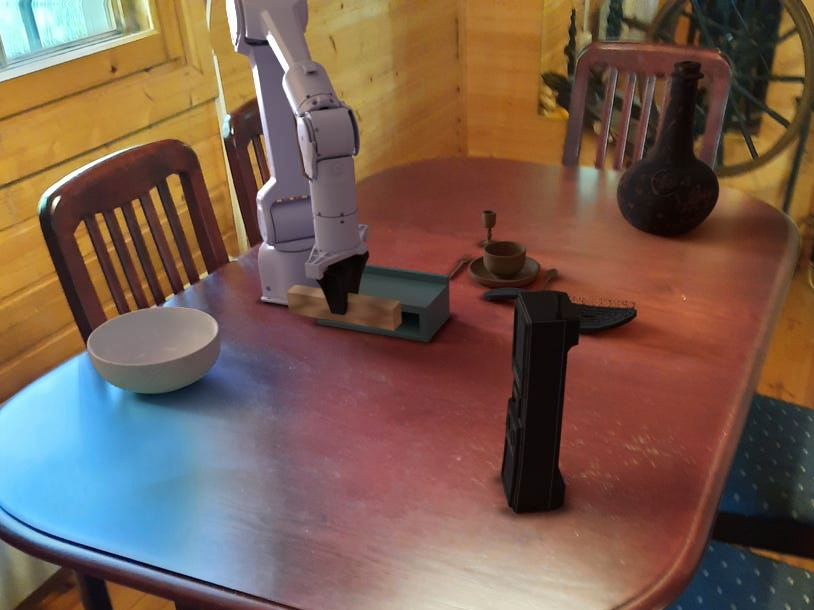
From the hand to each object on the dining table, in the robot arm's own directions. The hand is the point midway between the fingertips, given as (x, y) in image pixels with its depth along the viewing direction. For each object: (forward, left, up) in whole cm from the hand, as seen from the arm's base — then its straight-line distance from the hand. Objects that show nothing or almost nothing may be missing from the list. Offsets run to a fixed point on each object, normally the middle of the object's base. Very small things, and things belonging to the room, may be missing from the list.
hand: (343, 308), depth 117 cm
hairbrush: (+24, +23, -8) cm, 34 cm away
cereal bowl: (-21, -14, -8) cm, 26 cm away
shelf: (0, +12, -7) cm, 14 cm away
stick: (0, 0, -1) cm, 1 cm away
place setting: (+12, +38, -8) cm, 40 cm away
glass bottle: (+33, +65, -8) cm, 73 cm away
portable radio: (+33, -21, -8) cm, 40 cm away
